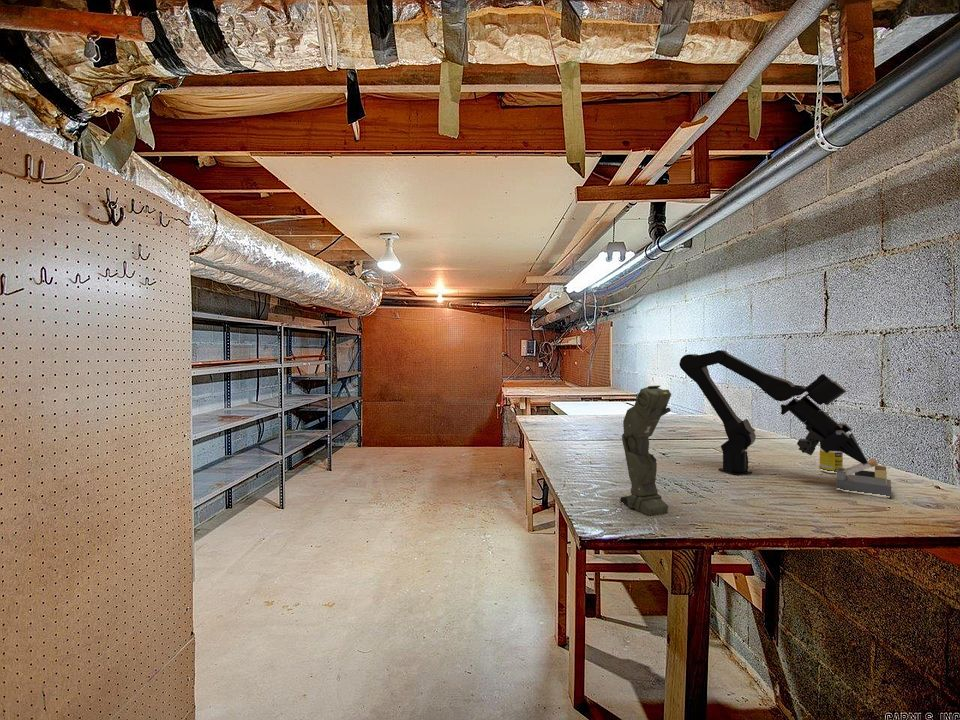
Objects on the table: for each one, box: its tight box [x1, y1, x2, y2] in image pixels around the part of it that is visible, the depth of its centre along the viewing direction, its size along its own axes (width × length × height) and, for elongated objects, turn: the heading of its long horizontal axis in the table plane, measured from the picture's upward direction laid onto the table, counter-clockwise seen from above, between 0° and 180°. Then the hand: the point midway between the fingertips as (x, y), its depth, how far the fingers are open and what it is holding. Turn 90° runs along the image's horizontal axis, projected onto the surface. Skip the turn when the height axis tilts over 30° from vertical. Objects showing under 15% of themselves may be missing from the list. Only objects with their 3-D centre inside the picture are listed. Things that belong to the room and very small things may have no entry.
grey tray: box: [835, 464, 892, 497], centre depth 114 cm, size 10×8×6 cm
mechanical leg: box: [619, 385, 672, 517], centre depth 103 cm, size 14×7×30 cm, turn 21°
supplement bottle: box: [819, 447, 844, 472], centre depth 132 cm, size 5×5×10 cm
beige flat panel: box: [839, 457, 879, 476], centre depth 115 cm, size 1×5×9 cm
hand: (865, 463), depth 113 cm, fingers closed, pressing on beige flat panel
